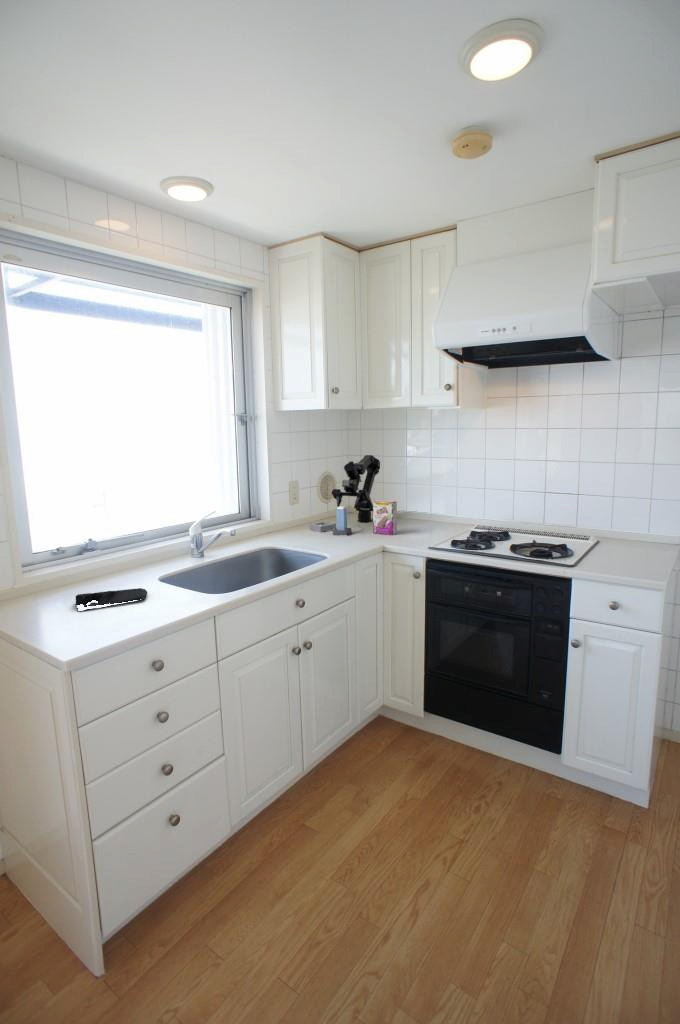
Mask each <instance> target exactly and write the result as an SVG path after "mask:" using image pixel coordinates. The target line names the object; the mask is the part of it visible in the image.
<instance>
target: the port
mask: <svg viewBox="0 0 680 1024" xmlns="http://www.w3.org/2000/svg"><path fill="white" fill-rule="evenodd" d="M308 526H309V528H308V529H310V531H313V530H314V531H313V532H317V531H318V532H317V533H324V531H325V532H329V531H328V530H331V531H333V529H336V528H337V523H335V522H334V523H333V522H330V521H325V520H324V521H318V522H313V523H309V525H308Z"/></svg>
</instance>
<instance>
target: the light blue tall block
mask: <svg viewBox="0 0 680 1024" xmlns="http://www.w3.org/2000/svg"><path fill="white" fill-rule="evenodd" d="M335 509H336V510H335V514H336V528H337V530H347V528H348V512H347V511H348V509H347V506H342V505H340V506H339V507H337V506H336V508H335Z"/></svg>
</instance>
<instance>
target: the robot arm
mask: <svg viewBox="0 0 680 1024" xmlns="http://www.w3.org/2000/svg"><path fill="white" fill-rule="evenodd" d="M380 463H381V461H380V459H378V458H376V456H374V455H372V454H370V455H369V454H366V455H364V456H363V458H361V460H359V461H357V462H354V461H353V460H352V461H351V460H350V461H349V462H348V463H346V464H345V465H344V467H343V469H344V472H345V474H346V476H347V477H348V478H349V479H342V483H341V487H343V490H344V491H341V488H333V489H332V490H331V494H332V496H333V499H335V500H336V508H337V507H339V506H341V503H342V502H343V501H342V500H343V497H355V498H356V499H355V502H354V505H353V508H354V509H355V511H356V512H358V513H357V520H356V521H357V522H358V521H360V522H359V523H362V522H365V523H369V521H372V522H373V519H372V512H373V501H372V499H371V492H372V489H373V484H374V481H375V477H376V476H377V475H378V474H379V472H380V471H379V469H380ZM380 470H381V469H380ZM365 473H366V476H365V479H364V484H363V486H362V489H359V486H360V483H361V482H362V477H361V475H362V476H363V475H364V474H365Z"/></svg>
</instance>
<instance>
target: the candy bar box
mask: <svg viewBox="0 0 680 1024" xmlns="http://www.w3.org/2000/svg"><path fill="white" fill-rule="evenodd" d="M372 504H373V511H372V520H373V521H372V528H373V529H372V532H373V534H377V533H380V534H379V535H387V534H390V535H389V536H394V535H396V534H398V516H397V515H398V512H397V509H398V507H397V504H398V503H397V501H396V500H385V499H384V500H383V499H375V500H372ZM393 534H394V535H393Z"/></svg>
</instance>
